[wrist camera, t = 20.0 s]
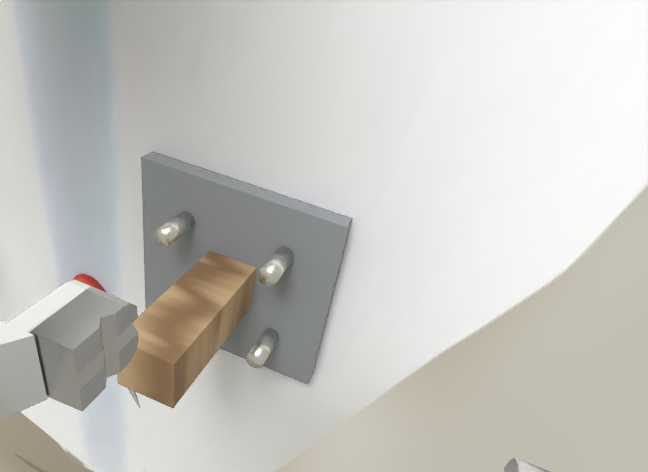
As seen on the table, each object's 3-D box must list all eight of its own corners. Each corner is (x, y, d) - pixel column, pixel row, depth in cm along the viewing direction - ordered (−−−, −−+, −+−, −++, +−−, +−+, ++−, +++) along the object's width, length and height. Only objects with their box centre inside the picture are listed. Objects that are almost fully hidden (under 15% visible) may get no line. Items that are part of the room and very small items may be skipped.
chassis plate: (155, 309, 49) (146, 317, 48) (152, 151, 40) (141, 157, 38) (312, 373, 46) (307, 384, 45) (352, 218, 36) (346, 226, 35)
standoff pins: (177, 303, 45) (154, 326, 43) (178, 208, 40) (153, 226, 37) (278, 344, 43) (261, 370, 41) (295, 250, 38) (278, 273, 35)
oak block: (207, 289, 43) (118, 383, 33) (209, 250, 41) (114, 338, 31) (250, 306, 42) (172, 408, 32) (256, 267, 40) (174, 364, 30)
